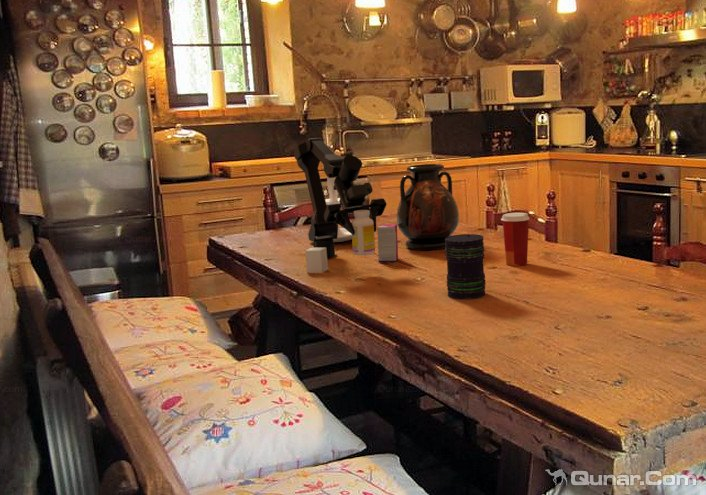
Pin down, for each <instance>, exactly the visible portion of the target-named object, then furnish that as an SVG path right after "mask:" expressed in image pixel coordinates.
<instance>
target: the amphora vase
mask: <svg viewBox="0 0 706 495" xmlns="http://www.w3.org/2000/svg"><path fill="white" fill-rule="evenodd" d="M443 169H445V166H444V164H442V163H427V164H426V163H425V164H415V165H414V164H413V165H409V166H407V167H406V171H407V172H409V173H411V175H412V176H411V175H408V174H406V175H404V176H402V177H401V179H400V181H399V183H400V184H399V194H400V200H399V203H398V206H397V212H396V223H397V224H396V225H397V228H398V229H399V231H400V232H401V234H402V235H403V236H405V238H407V240H406V241H405V246H406V247H407V248H408V249H411V250H417V251H433V250H441V249H445V248H446V247H445V244H446V242H445V238H446V237H448V236H453V235H454V234H453V233H455V231H456V230H457V229H458V225H459V223H460V213H459V207H458V205H457V202H456V199H455V197H454V196H453V180H452V176H451V175H450V173H449V172H448V171H442V170H443ZM440 171H441V172H440ZM443 176H444V177H446V181H447V187H446V186H444V185H443V183H442V182H441V181H442V177H443ZM407 179H408V180H409V181H410V183H411V184H410V186H409V187H408V188H407V190H406V191H405V184H406V181H407Z"/></svg>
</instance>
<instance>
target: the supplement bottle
mask: <svg viewBox="0 0 706 495" xmlns="http://www.w3.org/2000/svg"><path fill="white" fill-rule="evenodd" d="M369 215H370V211H369V210H357V211H354V214H353V217H354V219H353V220H352V221H350V222H351V224H352V226H353V228H354V231H355V234H354V235H352V239H351V240H352V241H351V242H352V254H353V255H356V256H369V255H373V254H375V253H376V243H375V241H376V240H375V232H374V223H373V220H372V219H370V218H369Z"/></svg>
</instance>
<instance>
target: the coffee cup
mask: <svg viewBox="0 0 706 495" xmlns="http://www.w3.org/2000/svg"><path fill="white" fill-rule="evenodd" d="M500 220H501V222H502V231H503V232H502V233H503V240H504V241H503V242H504V243H503V244H504V253H505V261H506V263H505V264H506V265H507V266H509V267H523V266H526V265H527V264H528V249H529V245H528V244H529V222H530V221H529V220H530V217H529V214H528V213H526V212H509V213H504V214H503V215H502V216H501V218H500Z"/></svg>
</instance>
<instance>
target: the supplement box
mask: <svg viewBox="0 0 706 495" xmlns="http://www.w3.org/2000/svg"><path fill="white" fill-rule="evenodd" d="M376 232H377V257H378V263H379V264H381V263H396V262H397V260H398V259H399V248H398V246H399V243H398V225H397V224H379V225H378V226H376Z"/></svg>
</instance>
